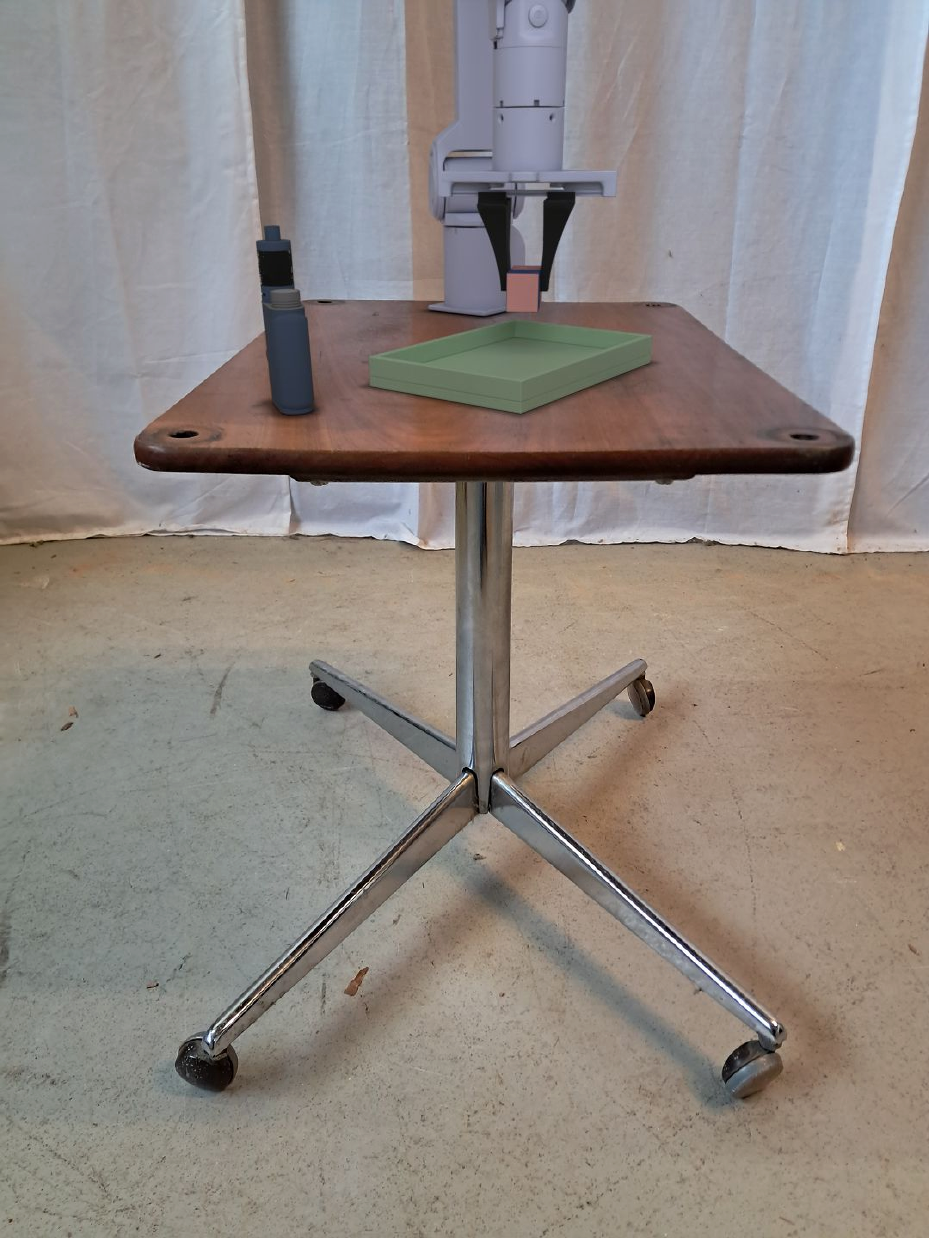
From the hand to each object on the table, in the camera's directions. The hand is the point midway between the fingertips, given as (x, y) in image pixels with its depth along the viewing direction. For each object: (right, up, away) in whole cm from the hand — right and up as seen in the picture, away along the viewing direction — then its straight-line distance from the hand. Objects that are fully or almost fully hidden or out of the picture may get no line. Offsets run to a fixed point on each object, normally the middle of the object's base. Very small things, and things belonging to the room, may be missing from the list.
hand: (524, 290), depth 78 cm
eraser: (0, -1, +1) cm, 1 cm away
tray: (-1, -8, -3) cm, 9 cm away
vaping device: (-18, -13, -12) cm, 25 cm away
